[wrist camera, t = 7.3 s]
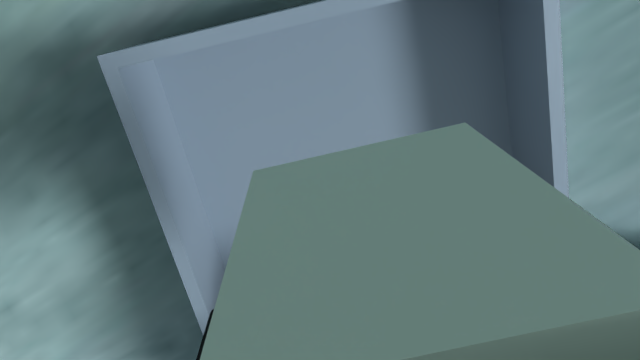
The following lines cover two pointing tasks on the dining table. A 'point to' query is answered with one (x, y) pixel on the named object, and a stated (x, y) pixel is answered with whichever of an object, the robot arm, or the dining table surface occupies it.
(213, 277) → the box
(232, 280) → the pale green block
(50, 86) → the dining table surface
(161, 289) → the dining table surface
